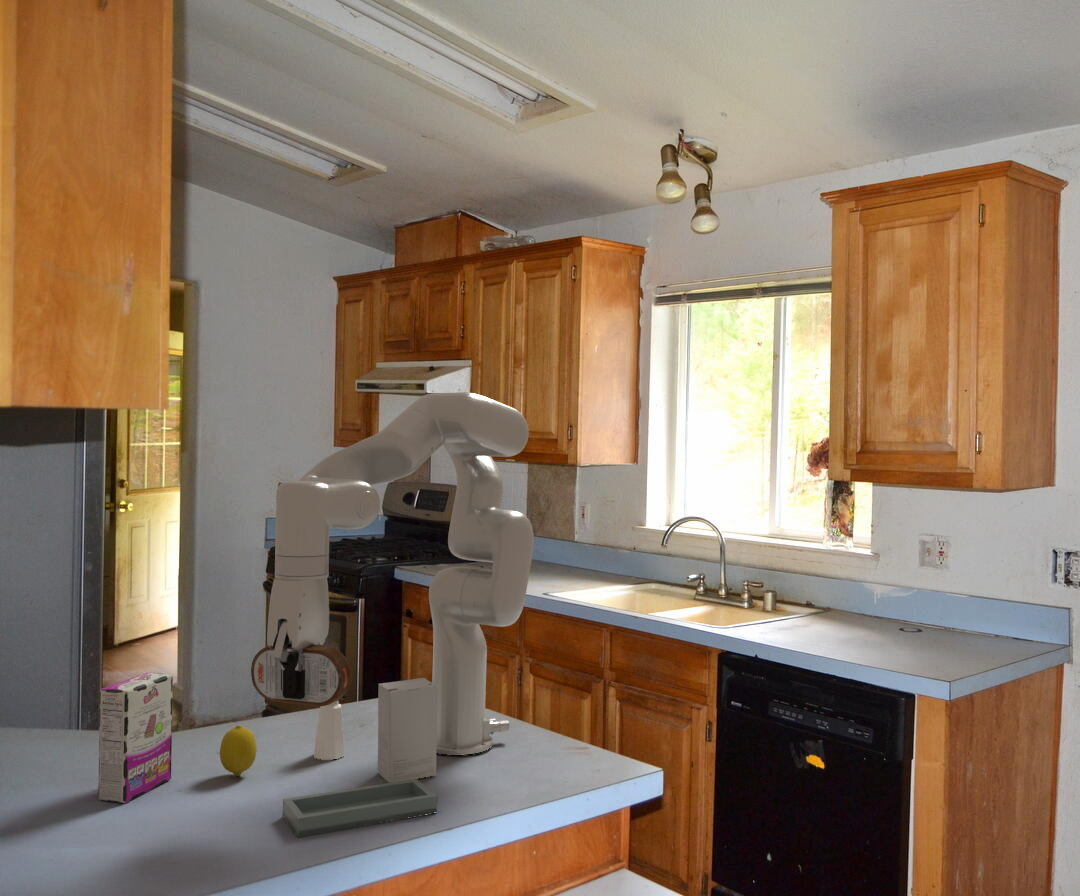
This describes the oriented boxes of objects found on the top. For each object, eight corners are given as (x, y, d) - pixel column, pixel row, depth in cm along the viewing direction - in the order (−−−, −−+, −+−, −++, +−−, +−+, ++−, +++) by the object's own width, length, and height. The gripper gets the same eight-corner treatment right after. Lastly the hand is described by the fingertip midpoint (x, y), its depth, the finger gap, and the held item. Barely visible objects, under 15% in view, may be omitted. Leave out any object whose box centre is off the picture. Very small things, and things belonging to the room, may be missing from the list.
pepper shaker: (307, 759, 158) (309, 693, 158) (320, 749, 163) (322, 685, 164) (338, 761, 157) (340, 695, 157) (350, 752, 162) (352, 688, 163)
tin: (351, 705, 135) (353, 646, 135) (341, 710, 132) (343, 649, 132) (258, 696, 139) (260, 638, 139) (246, 700, 136) (248, 642, 136)
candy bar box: (143, 776, 148) (147, 671, 148) (172, 780, 146) (175, 673, 147) (94, 801, 137) (98, 687, 137) (124, 805, 136) (128, 690, 136)
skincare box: (423, 766, 156) (425, 676, 156) (437, 777, 151) (440, 684, 151) (374, 773, 152) (377, 681, 152) (387, 785, 146) (390, 689, 147)
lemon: (242, 768, 153) (244, 718, 153) (262, 775, 149) (264, 725, 149) (211, 776, 149) (213, 725, 149) (231, 784, 145) (233, 732, 145)
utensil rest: (415, 795, 142) (416, 778, 142) (436, 813, 135) (437, 795, 135) (282, 817, 132) (282, 799, 133) (297, 837, 126) (298, 818, 126)
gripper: (306, 559, 144) (304, 679, 144) (247, 572, 129) (244, 707, 129) (351, 562, 142) (349, 684, 142) (296, 575, 127) (294, 712, 127)
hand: (299, 693), depth 136 cm, fingers closed on tin, 2 cm apart
